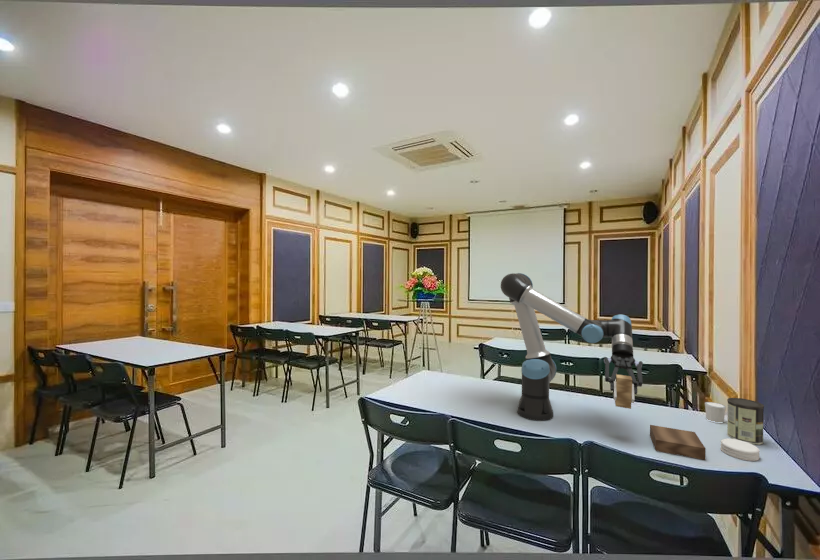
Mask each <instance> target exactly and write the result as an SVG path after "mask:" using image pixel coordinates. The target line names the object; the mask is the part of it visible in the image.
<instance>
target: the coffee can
mask: <svg viewBox="0 0 820 560" xmlns="http://www.w3.org/2000/svg"><path fill="white" fill-rule="evenodd" d="M764 409H765V405H764V404H763V403H761V402H758V401H756V400H752V399H747V398H741V397H729V398H728V397H727V421H726V422H727V426H726V427H727V432H726V435H727V436H728V438H729V439H736V440H741V441H744V442H747V443H750V444H752V445H754V446H758V445H759V446H760V445H763V444H764Z"/></svg>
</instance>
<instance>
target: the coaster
mask: <svg viewBox="0 0 820 560" xmlns="http://www.w3.org/2000/svg"><path fill="white" fill-rule="evenodd" d="M720 449H721V451H722V453H724V454H726V455H727V456H729V457H733V458H735V459H738V460H743V461H747V462H748V461H749V462H757V461H758V460H760V452H761V451H760V448H759V447H757V445H754V444H750V443H747V442H744V441H741V440H736V439H732V438H723V439H721V441H720Z"/></svg>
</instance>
